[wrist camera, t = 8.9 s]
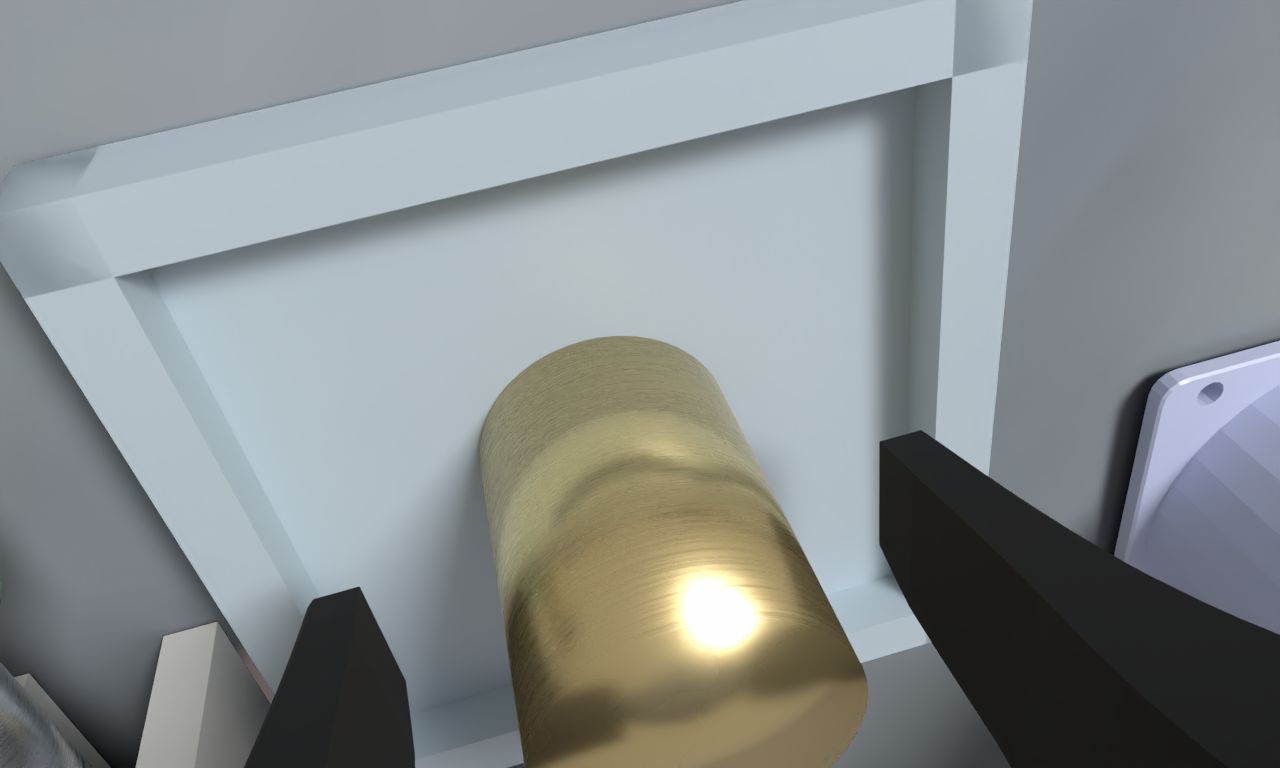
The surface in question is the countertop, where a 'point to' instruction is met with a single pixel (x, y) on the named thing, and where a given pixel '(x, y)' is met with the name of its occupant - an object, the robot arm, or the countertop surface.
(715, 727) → the cylinder
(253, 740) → the white block
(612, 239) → the tray
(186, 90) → the countertop surface
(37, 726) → the knob
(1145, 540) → the robot arm
